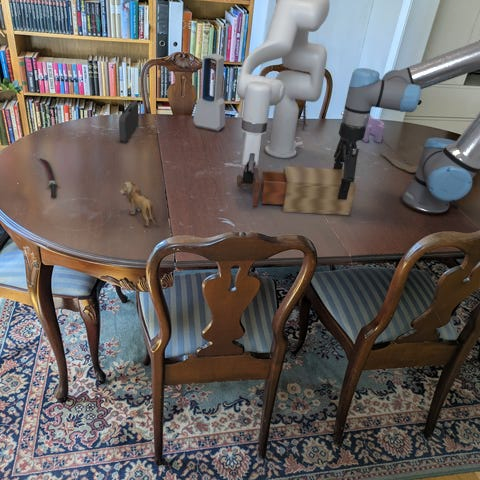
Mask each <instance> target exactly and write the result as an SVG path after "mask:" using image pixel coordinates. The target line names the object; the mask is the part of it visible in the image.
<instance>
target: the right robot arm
mask: <svg viewBox="0 0 480 480" xmlns="http://www.w3.org/2000/svg"><path fill="white" fill-rule="evenodd" d="M478 70H480V40H477V41H475V42H472V43H469V44H467V45H463V46H461V47H459V48H455V49H453V50H451V51H448V52H445V53H442V54H440V55H436V56H433V57H431V58H428V59H426V60H423V61H420V62H419V63H415V64H413V65H409V66H408V67H405V68H402V69H392V70H389V71H387V72H386V73H384V74H383V76H382V78H380V77H381V76H380V75H381V74H380V72H379V71H378V70H375V69H371V68H368V67H367V68H365V67H359V68H356V69H354V70H353V72H352V74H351V77H350V81H349V85H348V89H347V94H346V97H345V103H344V109H343V111H341V116H342V118H341V123H340V125H339V129H338V135H339V141H338V143H337V146H336V149H335V151H334V154H333V159H334V160H333V161H334V163H333V168H332V169H341V170H344V175H343V178H342V179H341V185H340V189H339V193H338V197H337V198H338V199H344V200H346V199H347V195H348V191H349V187H350V183H351V182H355V176H356V168H357V164H358V163H357V161H358V156H359V151H360V148H358V145H357V142H359V141H363V140H362V139H363V138H364V135H365V131H366V127H365V126H366V125H367V124H368V120H369V116H370V115H371V111H372V108H379V109H385V110H390V111H396V112H400V113H414V112H415V111H416V109H417V107H418V105H419V102H420V99H421V93H422V92H421V91H422V90H423V89H426V88H429V87H432V86H435V85H438V84H440V83H444V82H446V81H449V80H452V79H456V78H458V77H461V76H463V75H466V74H470V73H473V72H475V71H478ZM417 165H418V168H417V171H416V172H415V175H414V176H413V177H414V178H413V180H412V181H411V182H410V184H409V185H408V187H407V188H406V189H405V190H404V192H403V194H402V195H401V196H402V197H401V201H402V203H403V205H404V206H405V207H407V208H408V209H410V210H412V211H414V212H417V213H420V214H424V215H428V216H441V215H444V214H446V213H447V212H448V210H449V208H450V206H451V207H455V208H457V209H458V208H459V207H460V206H459V204H457V203H454V201H458V200H460V199H462V198H464V197H465V196H467V194H469V192H470V191H471V189H472V187H473V178H475V176H476V175H477V174H478V173H479V171H480V111H479V112H478V113H477V114H476V116H475V117H474V118H473V120H472V121H471V122H470V123H469V125H467V127H466V129H464V131H463V132H462V133H461V135H460V136H459V138H457V140H452V139H448V138H443V137H430V138H427V140H426V141H425V144H424V146H423V149H422V152H421V156H420V159H419V162H418V164H417Z"/></svg>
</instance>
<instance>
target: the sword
mask: <svg viewBox="0 0 480 480" xmlns="http://www.w3.org/2000/svg"><path fill="white" fill-rule="evenodd" d="M40 161H41V162H42V163H43V165H44V166H45V169H46V173H47V176H48V185H47V188H50V198H56V197H57V189H56V188H57V187H59V185H58V184H57V183H56V180H55V176H54V172H53V169H52V167H51V164H50V163H49V161H48V160H46V159H43V158H40Z"/></svg>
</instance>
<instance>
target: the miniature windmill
mask: <svg viewBox="0 0 480 480" xmlns="http://www.w3.org/2000/svg"><path fill="white" fill-rule="evenodd" d="M294 71H296V72H301V71H300V70H294ZM303 73H306V74H309V72H306V71H303ZM297 100H298V99H295V101H296V102H297ZM306 102H307V101H303V105H302V104H297V105H298V107H303V108H299V111H302V115H298V118H302V120H299V119H298V120H297V122H300V123H302V131H305V126H306V124H307V122H306V121H307V120H306V119H307V116H306V115H307V114H306V109H307V106H306V105H307V104H306Z"/></svg>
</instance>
